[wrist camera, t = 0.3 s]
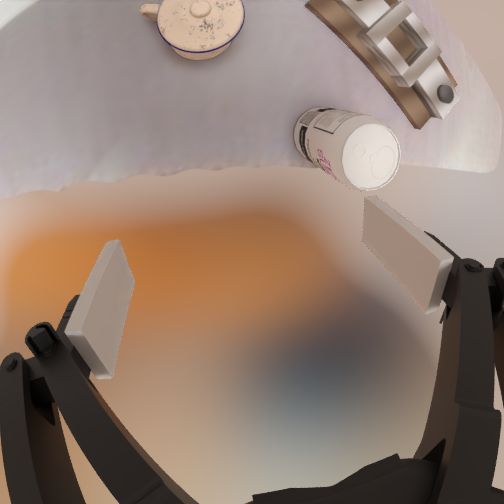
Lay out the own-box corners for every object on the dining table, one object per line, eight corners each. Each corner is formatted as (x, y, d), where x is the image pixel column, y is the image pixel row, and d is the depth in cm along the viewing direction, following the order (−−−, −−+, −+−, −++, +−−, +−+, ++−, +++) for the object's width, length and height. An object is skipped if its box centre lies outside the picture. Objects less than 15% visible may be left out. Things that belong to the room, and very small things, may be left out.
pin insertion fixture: (304, 5, 29) (318, -5, 25) (356, -35, 25) (373, -45, 21) (414, 128, 40) (435, 134, 36) (451, 83, 37) (473, 86, 32)
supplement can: (353, 120, 39) (415, 139, 26) (332, 169, 42) (385, 206, 30) (305, 97, 36) (356, 102, 24) (283, 150, 40) (323, 180, 27)
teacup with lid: (246, 14, 29) (262, -15, 19) (221, 70, 33) (228, 60, 23) (161, -8, 26) (147, -42, 16) (135, 48, 30) (110, 32, 20)
